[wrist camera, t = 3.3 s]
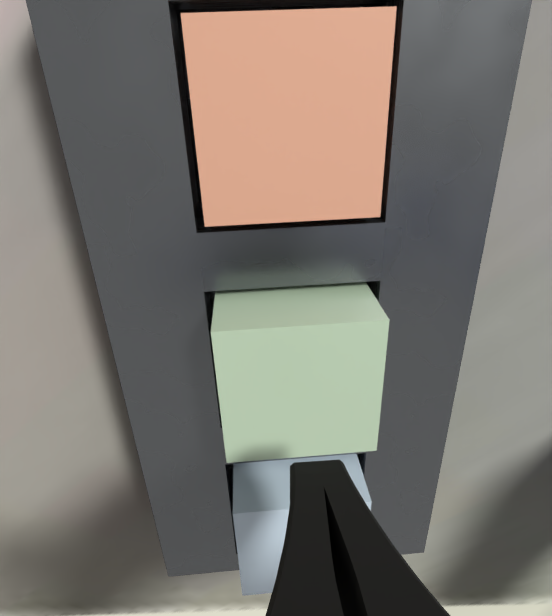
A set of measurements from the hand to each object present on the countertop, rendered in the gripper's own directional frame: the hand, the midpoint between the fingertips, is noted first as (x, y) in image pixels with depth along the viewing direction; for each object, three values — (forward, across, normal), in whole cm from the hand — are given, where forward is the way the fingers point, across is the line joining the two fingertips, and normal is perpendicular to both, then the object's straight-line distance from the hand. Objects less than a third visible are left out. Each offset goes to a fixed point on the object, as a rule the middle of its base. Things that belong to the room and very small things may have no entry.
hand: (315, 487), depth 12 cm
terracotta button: (+7, 0, -9) cm, 11 cm away
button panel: (+7, 0, -1) cm, 7 cm away
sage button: (+5, 0, -1) cm, 5 cm away
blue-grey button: (+5, 0, +6) cm, 8 cm away
